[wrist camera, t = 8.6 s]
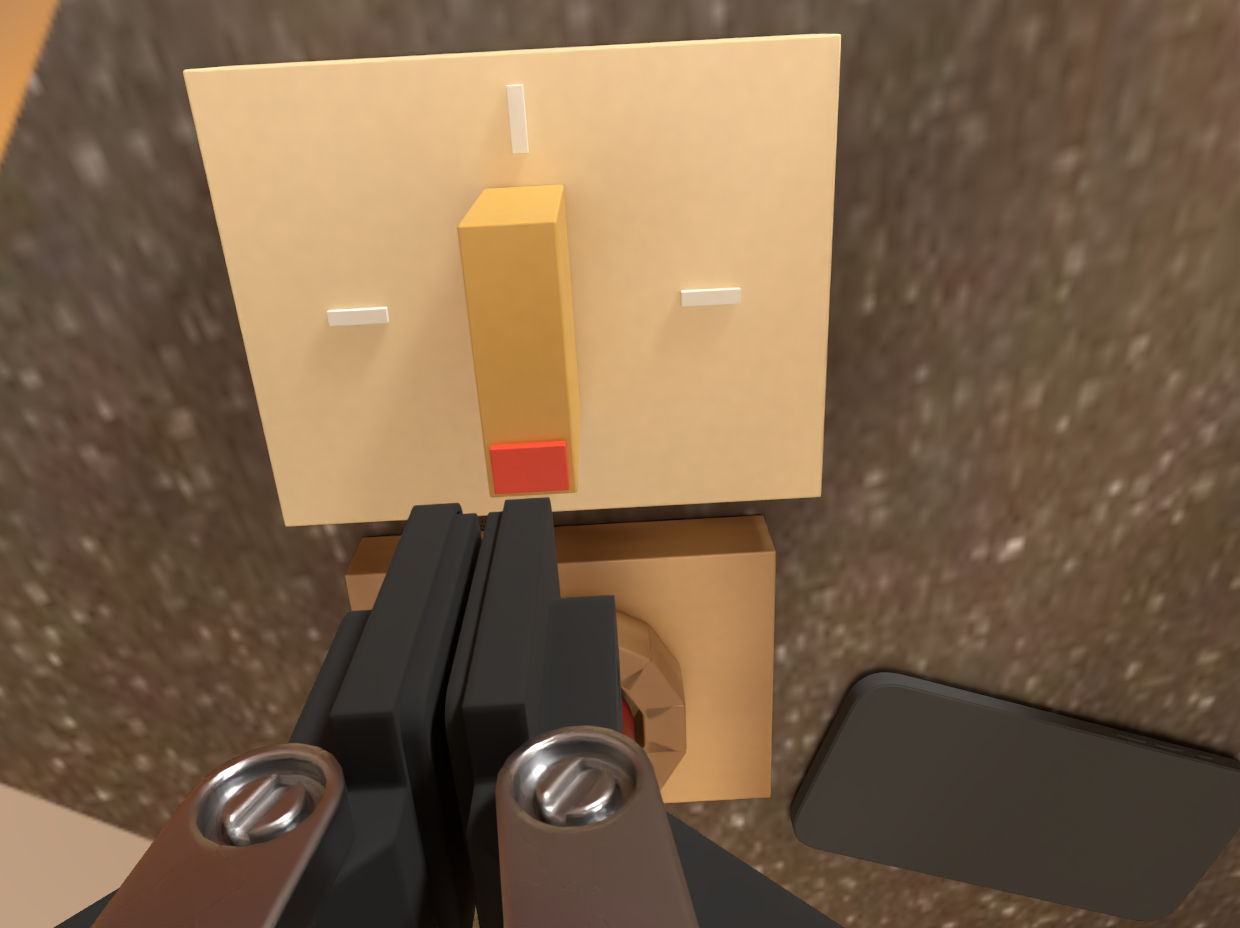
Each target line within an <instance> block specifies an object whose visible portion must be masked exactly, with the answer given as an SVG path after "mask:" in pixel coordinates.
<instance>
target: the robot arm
mask: <svg viewBox="0 0 1240 928" xmlns="http://www.w3.org/2000/svg"><path fill="white" fill-rule="evenodd" d="M475 905H476V909H477V915H478V920H479V926H480V928H844V927H842V926H841V925H839V924H838V923H836V922H835V921H833V920H831V919H830V918H828V917H827V916H825V915H824V914H822V913H821V912H819V911H818V910H816V909H815V908H813V907H812V906H810V905H809V904H807V903H805V902H804V901H802V900H801V899H799V898H798V897H796V896H795V895H793V894H792V893H790V892H789V891H787V890H786V889H784V888H783V887H781V886H780V885H778V884H776V883H775V882H773V881H772V880H770V879H769V878H767V877H766V876H764V875H763V874H761V873H760V872H758V871H757V870H755V869H754V868H752V867H750V866H749V865H747V864H746V863H744V862H743V861H741V860H740V859H738V858H737V857H735V856H734V855H732V854H731V853H729V852H728V851H726V850H724V849H723V848H721V847H720V846H718V845H717V844H715V843H714V842H712V841H711V840H709V839H708V838H706V837H705V836H703V835H702V834H700V833H698V832H697V831H695V830H694V829H692V828H691V827H689V826H688V825H686V824H685V823H683V822H682V821H680V820H679V819H677V818H676V817H674V816H673V815H671V814H669V813H668V812H666V810H665V806H664V803H663V799H662V796H661V792H660V789H659V785H658V782H657V778H656V775H655V771H654V768H653V765H652V763H651V761H650V759H649V757H648V756H647V754H646V752H645V750H644V749H643V748H642V747H641V746H639V745H638V744H637V743H636V742H635V741H634V740H632V739H631V738H630V737H628V736H626V735H623V719H622V695H621V677H620V661H619V646H618V632H617V619H616V606H615V597H614V595H603V596H587V597H570V598H561V594H560V584H559V574H558V564H557V555H556V545H555V535H554V525H553V515H552V507H551V501H550V498H549V497H542V498H526V499H510V500H505V503H504V507H503V511H500V512H489V514H488V517H487V521H486V526H485V530H484V534H483V538H481V530H480V524H479V519H478V515H477V514H476V513H468V514H463V511H462V508H461V505H460V504H459V503H445V504H429V505H414V506H413V508H412V510H411V512H410V515H409V518H408V520H407V523H406V525H405V528H404V530H403V533H402V535H401V538H400V540H399V543H398V545H397V548H396V550H395V553H394V555H393V558H392V560H391V563H390V565H389V568H388V570H387V573H386V575H385V578H384V580H383V583H382V585H381V588H380V590H379V593H378V595H377V598H376V600H375V603H374V605H373V608H372V610H358V611H350V612H348V613H347V614H346V615H345V617H344V618H343V620H342V622H341V624H340V627H339V629H338V631H337V633H336V636H335V638H334V640H333V643H332V645H331V647H330V649H329V652H328V654H327V656H326V658H325V661H324V663H323V665H322V667H321V670H320V672H319V674H318V677H317V679H316V681H315V683H314V686H313V688H312V690H311V692H310V695H309V697H308V699H307V701H306V704H305V706H304V708H303V711H302V713H301V715H300V717H299V720H298V722H297V724H296V726H295V729H294V731H293V733H292V736H291V738H290V740H289V742H288V743H286V744H273V745H270V746H266V747H262V748H258V749H254V750H251V751H248V752H246V753H244V754H242V755H239V756H237V757H235V758H233V759H231V760H229V761H226V762H225V763H223V764H222V765H221V766H219V767H218V768H216V769H215V770H213V771H212V772H211V773H209V774H208V775H206V776H205V777H204V778H203V779H202V780H201V781H200V782H199V783H198V784H197V785H196V787H195V788H194V789H193V790H192V791H191V792H190V793H189V794H188V795H187V797H186V798H185V800H184V801H183V802H182V804H181V805H180V806H179V808H178V809H177V810H176V812H175V813H174V814H173V816H172V817H171V819H170V820H169V821H168V823H167V824H166V825H165V827H164V828H163V829H162V831H161V832H160V833H159V835H158V836H157V838H156V839H155V840H154V842H153V843H152V844H151V846H150V847H149V848H148V850H147V851H146V853H145V854H144V855H143V857H142V858H141V860H140V861H139V862H138V863H137V865H136V866H135V867H134V869H133V870H132V872H131V873H130V874H129V876H128V877H127V878H126V880H125V881H124V882H123V884H122V885H121V886H120V888H118V889H117V890H115V891H113V892H112V893H110V894H108V895H107V896H105V897H103V898H102V899H100V900H98V901H97V902H95V903H94V904H92V905H90V906H89V907H87V908H85V909H84V910H82V911H80V912H79V913H77V914H75V915H74V916H72V917H71V918H69V919H67V920H66V921H64V922H63V923H61V924H59V925H57V926H56V927H54V928H472V926H473V919H474V912H475Z"/></svg>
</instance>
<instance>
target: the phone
mask: <svg viewBox="0 0 1240 928" xmlns="http://www.w3.org/2000/svg"><path fill="white" fill-rule="evenodd" d="M790 816H791V821H792V825H793V829H794V833H795V835H796V837H797V838H798V839H799V840H800V841H801V842H802V843H804V844H805V845H807V846H809V847H812V848H815V849H819V850H823V851H827V852H832V853H836V854H840V855H845V856H849V857H854V858H858V859H863V860H867V861H872V862H876V863H881V864H885V865H889V866H894V867H898V868H903V869H907V870H912V871H916V872H921V873H925V874H930V875H934V876H938V877H943V878H947V879H952V880H956V881H961V882H965V883H970V884H974V885H978V886H983V887H987V888H992V889H996V890H1001V891H1005V892H1010V893H1014V894H1019V895H1023V896H1027V897H1032V898H1036V899H1041V900H1045V901H1050V902H1054V903H1059V904H1063V905H1068V906H1072V907H1076V908H1081V909H1085V910H1090V911H1094V912H1099V913H1103V914H1108V915H1112V916H1117V917H1121V918H1126V919H1131V920H1137V921H1152V920H1157V919H1160V918H1163V917H1165V916H1167V915H1169V914H1170V913H1172V912H1173V911H1174V910H1175V909H1177V908H1178V907H1179V906H1180V904H1181V903H1182V902H1183V901H1184V899H1185V898H1186V897H1187V896H1188V894H1189V893H1190V892H1191V890H1192V889H1193V888H1194V887H1195V885H1196V884H1197V883H1198V881H1199V880H1200V879H1201V878H1202V876H1203V875H1204V874H1205V872H1206V871H1207V870H1208V869H1209V867H1210V866H1211V865H1212V863H1213V862H1214V861H1215V859H1216V858H1217V857H1218V856H1219V854H1220V853H1221V852H1222V850H1223V849H1224V848H1225V847H1226V845H1227V844H1228V843H1229V841H1230V840H1231V839H1232V837H1233V836H1234V835H1235V834H1236V832H1237V831H1238V830H1239V828H1240V762H1239V761H1237V760H1234V759H1231V758H1227V757H1223V756H1219V755H1215V754H1212V753H1208V752H1204V751H1200V750H1196V749H1192V748H1188V747H1184V746H1180V745H1176V744H1172V743H1168V742H1165V741H1161V740H1157V739H1153V738H1149V737H1145V736H1141V735H1137V734H1133V733H1129V732H1125V731H1121V730H1118V729H1114V728H1110V727H1106V726H1102V725H1098V724H1094V723H1090V722H1086V721H1082V720H1078V719H1074V718H1071V717H1067V716H1063V715H1059V714H1055V713H1051V712H1047V711H1043V710H1039V709H1035V708H1031V707H1027V706H1024V705H1020V704H1016V703H1012V702H1008V701H1004V700H1000V699H996V698H992V697H988V696H984V695H980V694H977V693H973V692H969V691H965V690H961V689H957V688H953V687H949V686H945V685H941V684H937V683H933V682H930V681H926V680H922V679H918V678H914V677H910V676H906V675H901V674H897V673H888V672H883V673H875V674H871V675H869V676H866V677H864V678H863V679H861V680H860V681H858V682H857V683H856V684H855V685H854V686H853V687H852V689H851V690H850V691H849V693H848V695H847V696H846V698H845V700H844V702H843V704H842V706H841V708H840V710H839V712H838V714H837V716H836V718H835V720H834V722H833V723H832V725H831V727H830V729H829V731H828V733H827V735H826V737H825V739H824V741H823V743H822V745H821V747H820V749H819V751H818V753H817V755H816V757H815V759H814V761H813V763H812V765H811V767H810V769H809V771H808V773H807V775H806V777H805V779H804V781H803V783H802V785H801V787H800V789H799V791H798V793H797V795H796V797H795V799H794V801H793V804H792V807H791V812H790Z"/></svg>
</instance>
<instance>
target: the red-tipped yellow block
mask: <svg viewBox="0 0 1240 928" xmlns="http://www.w3.org/2000/svg"><path fill="white" fill-rule="evenodd" d="M457 231H458V240H459V248H460V256H461V264H462V272H463V281H464V289H465V297H466V305H467V313H468V322H469V330H470V338H471V346H472V354H473V363H474V371H475V379H476V387H477V396H478V404H479V412H480V420H481V428H482V437H483V445H484V453H485V461H486V469H487V478H488V486H489V494H490V497H492V498H493V497H511V496H528V495H546V494H564V493H576V492H577V490H578V465H579V439H580V398H579V385H578V371H577V357H576V344H575V330H574V317H573V303H572V290H571V276H570V262H569V249H568V235H567V222H566V208H565V195H564V186H563V185H561V184H560V185H542V186H524V187H506V188H489V189H484V190H483V191H482V193H481V194H480V196H479V197H478V198H477V200H476V201H475V203H474V204H473V205H472V207H471V208H470V209H469V211H468V212H467V214H466V215H465V216H464V218H463V219H462V221H461V222H460V223H459V225H458V227H457Z"/></svg>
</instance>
